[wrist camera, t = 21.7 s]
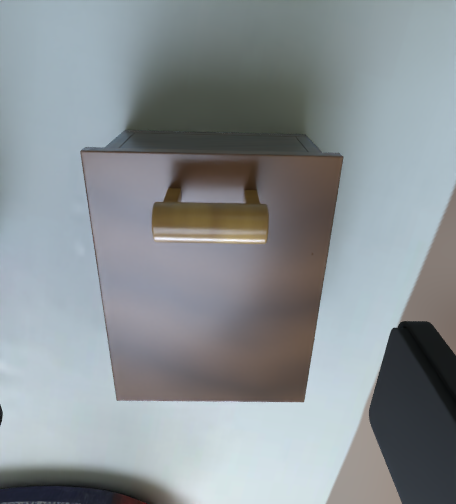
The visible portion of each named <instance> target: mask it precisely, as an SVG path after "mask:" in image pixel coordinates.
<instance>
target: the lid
mask: <svg viewBox="0 0 456 504" xmlns="http://www.w3.org/2000/svg"><path fill="white" fill-rule="evenodd" d="M81 159H82V166H83V173H84V180H85V187H86V193H87V200H88V207H89V214H90V221H91V228H92V234H93V241H94V248H95V255H96V262H97V269H98V275H99V282H100V289H101V296H102V303H103V310H104V316H105V323H106V330H107V337H108V344H109V351H110V358H111V364H112V371H113V378H114V385H115V392H116V399H117V401H210V402H304V400H305V393H306V387H307V381H308V375H309V368H310V362H311V356H312V350H313V343H314V337H315V331H316V325H317V319H318V312H319V306H320V300H321V294H322V287H323V281H324V275H325V269H326V262H327V256H328V250H329V244H330V238H331V231H332V225H333V219H334V213H335V206H336V200H337V194H338V188H339V181H340V175H341V169H342V163H343V156H342V155H341V154H340V153H319V152H275V151H230V150H185V149H140V148H96V147H85V148H84V149H82V150H81Z"/></svg>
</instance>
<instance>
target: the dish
mask: <svg viewBox="0 0 456 504" xmlns="http://www.w3.org/2000/svg"><path fill="white" fill-rule="evenodd" d="M0 504H147V503H145V502H142V501H139V500H137V499H134V498H131V497H128V496H125V495H122V494H119V493H115V492H111V491H106V490H100V489H94V488H83V487H69V486H32V487H16V488H6V489H0Z"/></svg>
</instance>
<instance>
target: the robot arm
mask: <svg viewBox="0 0 456 504" xmlns="http://www.w3.org/2000/svg"><path fill="white" fill-rule="evenodd" d="M2 417H3V412H2V408H1V405H0V425H1V422H2ZM369 419H370V424H371V427H372V429H373V432H374V434H375V437H376V439H377V442H378V444H379V447H380V449H381V452H382V454H383V457H384V459H385V462H386V464H387V467H388V469H389V472H390V474H391V477H392V479H393V482H394V484H395V487H396V489H397V492H398V494H399V497H400V499H401V502H402V504H456V355H455V354H454V353H453V351H452V350H451V349H450V347H449V346H448V345H447V344H446V342H445V341H444V340H443V338H442V337H441V336H440V334H439V333H438V332H437V330H436V329H435V328H434V326H433V325H432V324H431V323H429V322H427V321H426V322H425V321H422V322H421V321H418V322H417V321H413V322H412V321H404V322H401V323H400V324H399V326H398V328H393V329H392V330H391V333H390V336H389V340H388V343H387V347H386V350H385V354H384V358H383V361H382V365H381V368H380V372H379V376H378V379H377V383H376V387H375V390H374V394H373V397H372V401H371V405H370V409H369Z"/></svg>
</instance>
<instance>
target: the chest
mask: <svg viewBox="0 0 456 504" xmlns="http://www.w3.org/2000/svg"><path fill="white" fill-rule="evenodd" d="M105 148H140V149H185V150H230V151H275V152H319V153H323V152H322V151H321V150H320V149H319V148H318V147H317V146H316V145H315V144H314V143H313V142H312V141H311V140H310V139H309V138H308V137H307V136H306V135H301V134H258V133H216V132H173V131H130V130H125V131H123V132H122V133H121V134H120V135H119V136H118V137H116V138H115V139H114V140H113V141H112V142H111V143H109V144H108V145H107V146H106V147H105Z"/></svg>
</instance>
